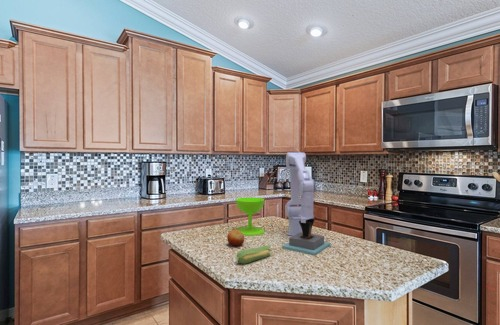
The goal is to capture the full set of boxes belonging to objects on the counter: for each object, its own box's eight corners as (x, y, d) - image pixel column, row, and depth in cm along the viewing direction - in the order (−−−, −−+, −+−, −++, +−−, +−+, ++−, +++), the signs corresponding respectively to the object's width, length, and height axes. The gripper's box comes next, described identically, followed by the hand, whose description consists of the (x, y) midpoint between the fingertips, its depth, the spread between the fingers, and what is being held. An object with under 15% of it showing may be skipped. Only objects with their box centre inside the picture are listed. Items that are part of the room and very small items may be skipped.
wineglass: (261, 227, 169) (261, 197, 169) (266, 235, 153) (267, 201, 153) (234, 228, 167) (234, 197, 167) (236, 236, 151) (237, 201, 151)
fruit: (233, 237, 142) (239, 225, 139) (243, 249, 138) (249, 236, 134) (220, 241, 137) (226, 228, 134) (230, 253, 132) (236, 240, 129)
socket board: (299, 239, 145) (299, 230, 145) (330, 244, 136) (330, 235, 136) (282, 248, 131) (282, 238, 131) (315, 255, 121) (315, 244, 121)
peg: (303, 239, 136) (303, 222, 136) (311, 239, 134) (311, 222, 134) (301, 241, 132) (301, 224, 132) (310, 242, 131) (310, 224, 131)
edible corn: (232, 252, 113) (239, 251, 109) (269, 243, 126) (276, 243, 122) (234, 265, 112) (241, 265, 108) (271, 256, 124) (278, 255, 121)
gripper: (302, 203, 141) (302, 230, 142) (294, 207, 128) (294, 238, 128) (317, 204, 138) (316, 232, 139) (310, 209, 125) (309, 240, 125)
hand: (306, 235), depth 133 cm, fingers closed on peg, 4 cm apart
